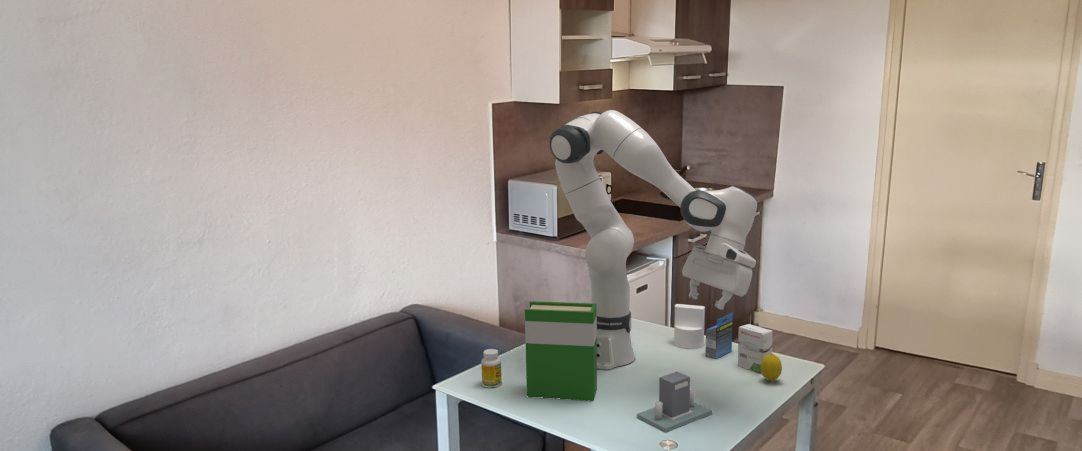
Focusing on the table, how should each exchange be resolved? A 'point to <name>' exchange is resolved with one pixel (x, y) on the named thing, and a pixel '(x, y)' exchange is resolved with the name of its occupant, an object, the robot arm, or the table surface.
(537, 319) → the hardback book
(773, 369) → the lemon
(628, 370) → the table surface
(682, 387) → the block
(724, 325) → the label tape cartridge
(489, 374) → the supplement bottle
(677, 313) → the base with upright slab
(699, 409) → the tray
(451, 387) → the table surface
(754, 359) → the ink box
